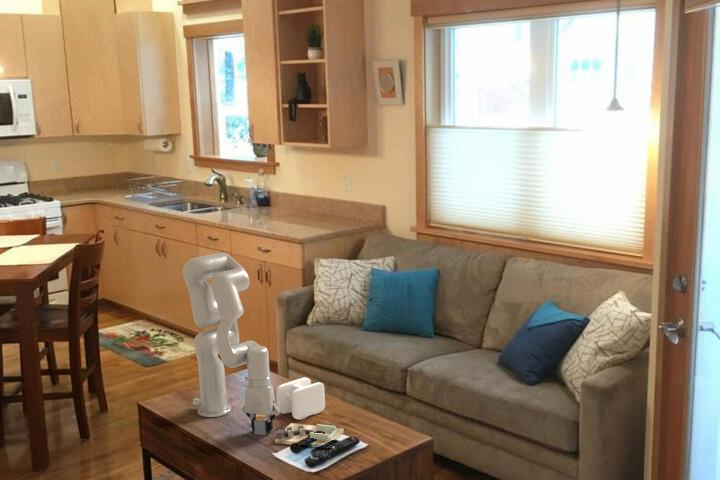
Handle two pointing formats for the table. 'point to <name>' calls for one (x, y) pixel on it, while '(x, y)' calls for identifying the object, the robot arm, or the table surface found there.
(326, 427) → the bracket
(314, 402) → the cable organizer
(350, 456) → the table surface
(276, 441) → the board
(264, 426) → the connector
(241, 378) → the table surface
